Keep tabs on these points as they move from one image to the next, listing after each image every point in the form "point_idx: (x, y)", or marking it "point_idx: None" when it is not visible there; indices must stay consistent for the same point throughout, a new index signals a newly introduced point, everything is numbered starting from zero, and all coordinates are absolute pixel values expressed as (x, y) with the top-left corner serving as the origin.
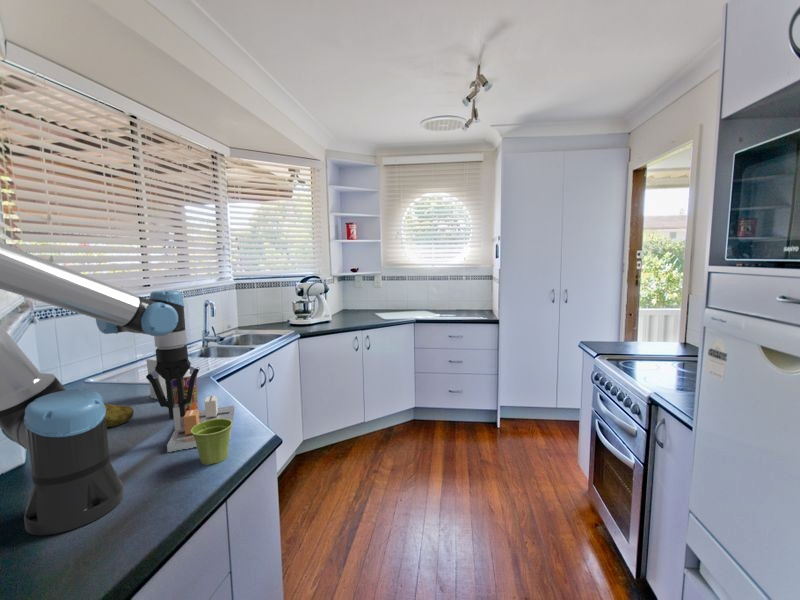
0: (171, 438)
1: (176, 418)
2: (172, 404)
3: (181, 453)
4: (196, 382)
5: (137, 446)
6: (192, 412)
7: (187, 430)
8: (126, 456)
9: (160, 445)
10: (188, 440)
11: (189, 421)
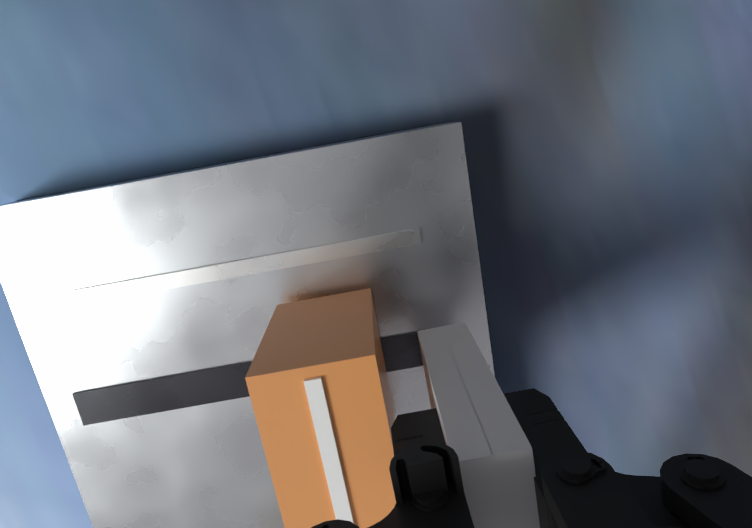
0: (470, 259)
1: (465, 378)
2: (553, 489)
3: (335, 80)
4: None
5: (710, 295)
6: (324, 474)
7: (350, 302)
8: (739, 141)
9: (548, 270)
10: (307, 180)
11: (322, 338)
